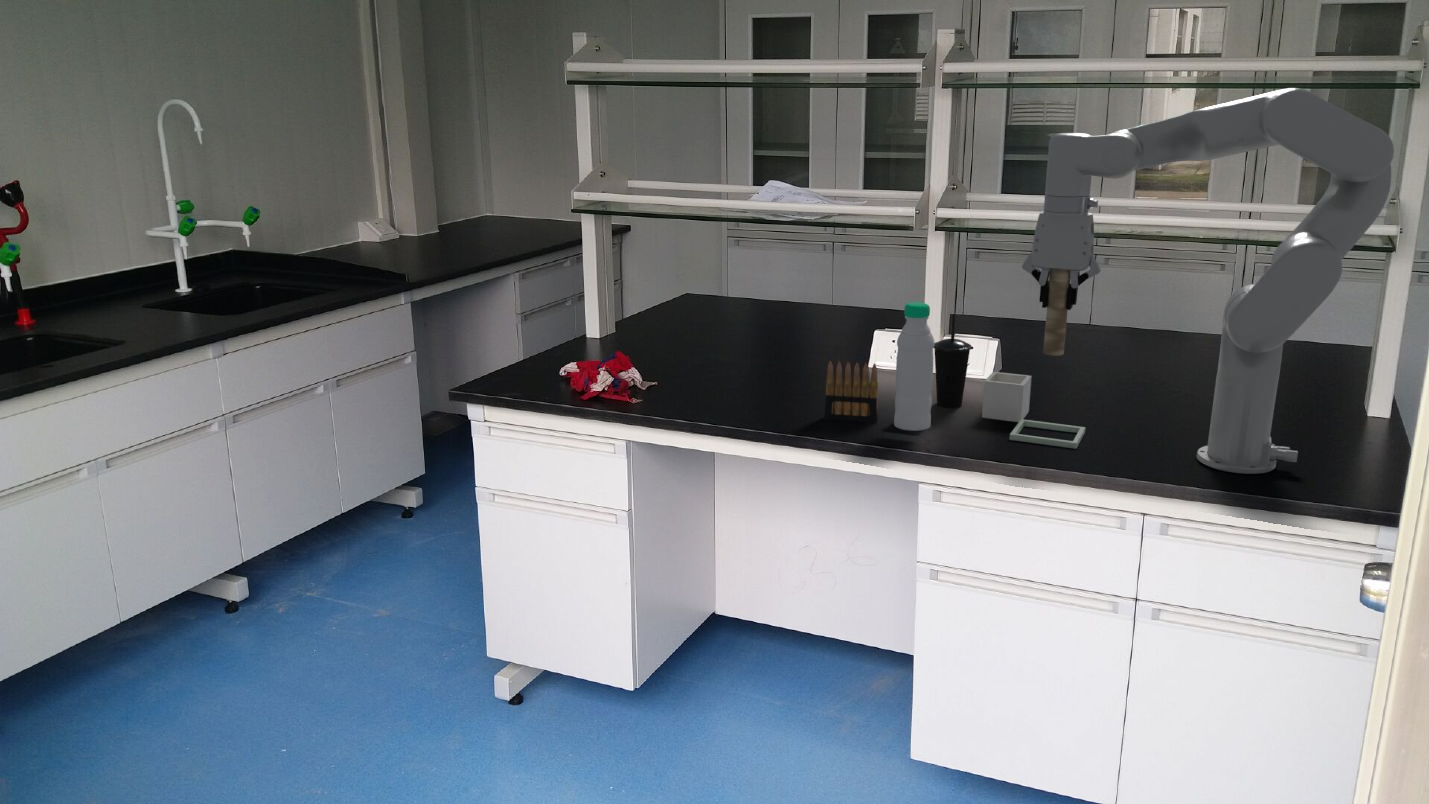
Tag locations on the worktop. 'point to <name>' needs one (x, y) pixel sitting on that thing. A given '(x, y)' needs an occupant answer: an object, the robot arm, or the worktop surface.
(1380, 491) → the worktop surface
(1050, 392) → the worktop surface
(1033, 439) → the tray
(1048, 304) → the dowel
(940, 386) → the drinking cup
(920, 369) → the water bottle
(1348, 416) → the worktop surface
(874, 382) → the ammunition clip
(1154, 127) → the robot arm
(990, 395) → the holder
